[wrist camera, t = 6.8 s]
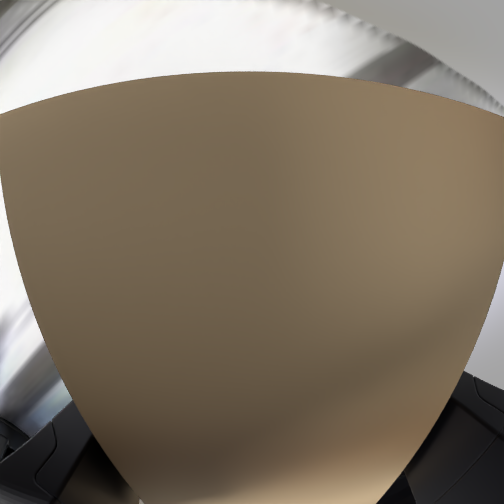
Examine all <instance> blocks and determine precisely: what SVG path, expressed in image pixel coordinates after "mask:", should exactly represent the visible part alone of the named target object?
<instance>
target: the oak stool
mask: <svg viewBox="0 0 504 504" xmlns="http://www.w3.org/2000/svg"><path fill="white" fill-rule="evenodd" d="M0 175H1V183H2V190H3V197H4V203H5V209H6V214H7V219H8V224H9V229H10V234H11V238H12V242H13V247H14V251H15V255H16V258H17V262H18V266H19V269H20V273H21V276H22V279H23V283H24V286H25V289H26V292H27V295H28V298H29V301H30V304H31V307H32V310H33V312H34V315H35V318H36V321H37V323H38V326H39V328H40V331H41V333H42V336H43V338H44V341H45V343H46V345H47V348H48V350H49V352H50V354H51V357H52V359H53V361H54V363H55V365H56V368H57V370H58V372H59V374H60V376H61V378H62V380H63V382H64V384H65V386H66V388H67V390H68V392H69V393H70V395H71V397H72V399H73V401H74V403H75V404H76V406H77V408H78V410H79V412H80V413H81V415H82V417H83V418H84V420H85V422H86V423H87V425H88V427H89V428H90V430H91V432H92V433H93V435H94V436H95V438H96V440H97V441H98V443H99V444H100V446H101V447H102V449H103V450H104V452H105V453H106V454H107V456H108V457H109V459H110V460H111V462H112V463H113V464H114V466H115V467H116V469H117V470H118V471H119V473H120V474H121V475H122V477H123V478H124V479H125V481H126V482H127V483H128V484H129V486H130V487H131V488H132V489H133V491H134V492H135V493H136V494H137V496H138V497H139V498H140V499H141V500H142V502H143V503H144V504H376V503H377V502H378V501H379V499H380V498H381V497H382V496H383V495H384V494H385V492H386V491H387V490H388V489H389V488H390V486H391V485H392V484H393V483H394V481H395V480H396V479H397V477H398V476H399V475H400V474H401V472H402V471H403V470H404V468H405V467H406V466H407V464H408V463H409V461H410V460H411V459H412V457H413V456H414V454H415V453H416V452H417V450H418V449H419V447H420V446H421V444H422V443H423V441H424V440H425V438H426V437H427V435H428V434H429V432H430V430H431V429H432V427H433V426H434V424H435V422H436V421H437V419H438V417H439V416H440V414H441V412H442V410H443V409H444V407H445V405H446V403H447V402H448V400H449V398H450V396H451V394H452V392H453V391H454V389H455V387H456V385H457V383H458V381H459V379H460V377H461V375H462V373H463V371H464V369H465V366H466V364H467V362H468V360H469V358H470V355H471V353H472V351H473V349H474V346H475V344H476V342H477V339H478V337H479V334H480V332H481V329H482V327H483V324H484V322H485V319H486V316H487V313H488V311H489V307H490V305H491V302H492V299H493V296H494V293H495V290H496V286H497V283H498V279H499V276H500V273H501V269H502V266H503V262H504V117H502V116H500V115H497V114H494V113H491V112H489V111H486V110H483V109H480V108H477V107H474V106H471V105H468V104H465V103H461V102H458V101H455V100H451V99H448V98H444V97H441V96H437V95H433V94H429V93H425V92H421V91H417V90H412V89H408V88H403V87H398V86H393V85H388V84H383V83H377V82H371V81H365V80H358V79H351V78H344V77H335V76H326V75H316V74H303V73H287V72H209V73H193V74H180V75H170V76H160V77H152V78H145V79H138V80H131V81H125V82H119V83H113V84H108V85H103V86H98V87H93V88H88V89H84V90H79V91H75V92H71V93H67V94H63V95H59V96H56V97H52V98H48V99H45V100H42V101H38V102H35V103H32V104H29V105H26V106H23V107H20V108H17V109H14V110H11V111H8V112H5V113H3V114H0Z"/></svg>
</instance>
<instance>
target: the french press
mask: <svg viewBox="0 0 504 504" xmlns="http://www.w3.org/2000/svg"><path fill="white" fill-rule="evenodd" d="M28 440H30V438H29V437H28V436H27V435H26V434H25V433H23V432H22V431H21V430H20V429H18V428H17V427H16V426H14V425H13V424H11V423H9V422H8V421H6V420H4V419H2V418H0V462H1V461H3V460H4V459H5V458H7V457H8V456H9V455H11V454H12V453H13V452H15V451H16V450H17V449H18V448H20V447H21V446H22V445H23V444H25V443H26V442H27V441H28Z"/></svg>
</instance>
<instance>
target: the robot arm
mask: <svg viewBox="0 0 504 504" xmlns="http://www.w3.org/2000/svg"><path fill="white" fill-rule="evenodd" d="M139 499H140V498H139V497H138V496H137V494H136V493H135V492H134V491H133V489H132V488H131V487H130V486H129V484H128V483H127V482H126V481H125V479H124V478H123V477H122V475H121V474H120V473H119V471H118V470H117V469H116V467H115V466H114V464H113V463H112V462H111V460H110V459H109V457H108V456H107V454H106V453H105V452H104V450H103V449H102V447H101V446H100V444H99V443H98V441H97V440H96V438H95V436H94V435H93V433H92V432H91V430H90V428H89V427H88V425H87V423H86V422H85V420H84V418H83V417H82V415H81V413H80V412H79V410H78V408H77V406H76V404H75V403H74V401H73V400H72V401H71V402H70V403H69V404H68V405H67V406H66V407H65V408H63V409H62V410H61V411H60V412H59V413H58V414H57V415H56V416H55V417H54V418H53V419H52V421H49V422H48V423H47V424H46V425H45V426H44V427H43V428H42V429H41V430H40V431H39V432H37V433H36V434H35V435H34V436H33V437H32V438H31V439H30V440H28V441H27V442H26V443H25V444H23V445H22V446H21V447H20V448H18V449H17V450H16V451H15V452H13V453H12V454H11V455H9V456H8V457H7V458H5V459H4V460H3V461H1V462H0V504H139ZM376 504H504V390H502V389H499V388H497V387H495V386H493V385H491V384H489V383H487V382H485V381H483V380H481V379H479V378H477V377H473V375H471V374H469V373H467V372H465V371H463V373H462V375H461V377H460V379H459V381H458V383H457V385H456V387H455V389H454V391H453V392H452V394H451V396H450V398H449V400H448V402H447V403H446V405H445V407H444V409H443V410H442V412H441V414H440V416H439V417H438V419H437V421H436V422H435V424H434V426H433V427H432V429H431V430H430V432H429V434H428V435H427V437H426V438H425V440H424V441H423V443H422V444H421V446H420V447H419V449H418V450H417V452H416V453H415V454H414V456H413V457H412V459H411V460H410V461H409V463H408V464H407V466H406V467H405V468H404V470H403V471H402V472H401V474H400V475H399V476H398V477H397V479H396V480H395V481H394V483H393V484H392V485H391V486H390V488H389V489H388V490H387V491H386V492H385V494H384V495H383V496H382V497H381V498H380V499H379V501H378V502H377V503H376Z"/></svg>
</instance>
